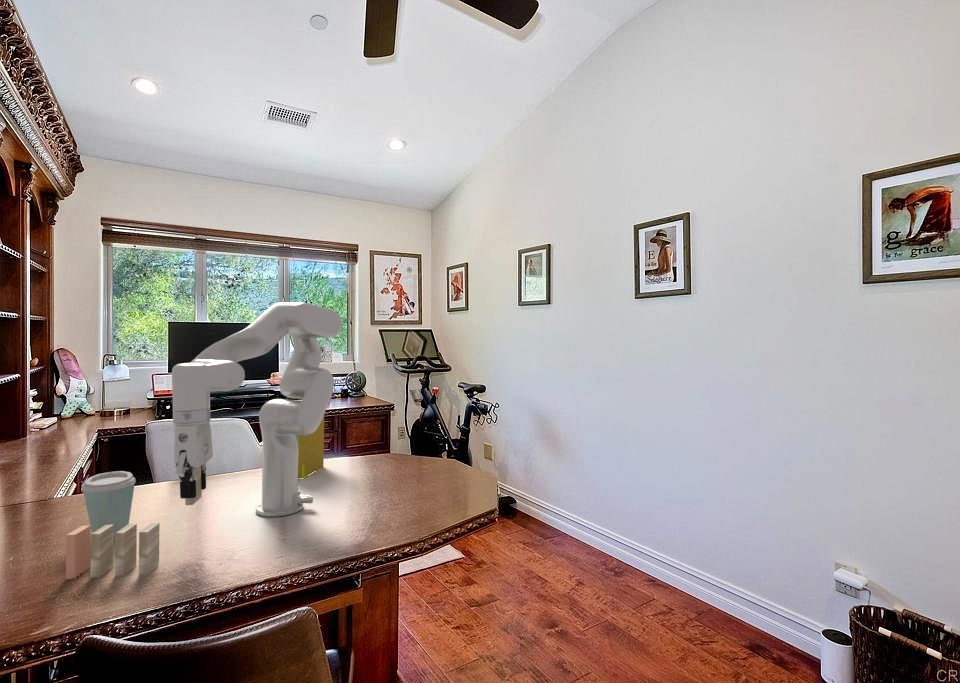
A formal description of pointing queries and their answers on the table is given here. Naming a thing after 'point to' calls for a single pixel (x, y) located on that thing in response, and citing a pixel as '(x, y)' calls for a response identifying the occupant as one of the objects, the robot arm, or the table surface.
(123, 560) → the domino
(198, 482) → the domino
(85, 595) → the table surface
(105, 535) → the domino
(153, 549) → the domino
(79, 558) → the domino
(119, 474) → the disposable coffee cup
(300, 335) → the robot arm
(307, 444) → the book
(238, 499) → the table surface
